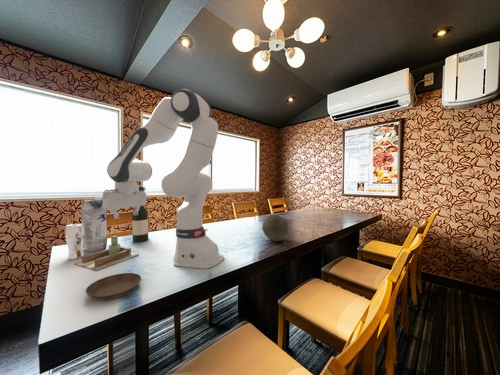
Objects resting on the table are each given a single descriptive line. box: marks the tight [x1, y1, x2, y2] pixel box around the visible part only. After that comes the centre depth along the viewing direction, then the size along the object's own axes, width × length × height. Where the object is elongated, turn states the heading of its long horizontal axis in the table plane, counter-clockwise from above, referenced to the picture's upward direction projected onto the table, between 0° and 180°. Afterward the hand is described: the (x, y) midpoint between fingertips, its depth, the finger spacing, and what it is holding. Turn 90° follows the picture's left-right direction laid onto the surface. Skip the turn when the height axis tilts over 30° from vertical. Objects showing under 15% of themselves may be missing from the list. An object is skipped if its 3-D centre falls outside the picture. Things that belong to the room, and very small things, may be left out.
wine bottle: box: [131, 205, 149, 243], centre depth 119 cm, size 8×8×30 cm
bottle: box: [108, 235, 121, 255], centre depth 93 cm, size 4×4×9 cm
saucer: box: [85, 272, 142, 301], centre depth 65 cm, size 15×15×3 cm
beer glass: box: [65, 223, 86, 260], centre depth 93 cm, size 7×7×15 cm
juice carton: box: [80, 196, 108, 253], centre depth 104 cm, size 9×10×27 cm
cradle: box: [73, 245, 140, 272], centre depth 90 cm, size 16×18×4 cm
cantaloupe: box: [261, 214, 289, 242], centre depth 115 cm, size 14×14×15 cm
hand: (126, 216), depth 98 cm, fingers open, 8 cm apart
